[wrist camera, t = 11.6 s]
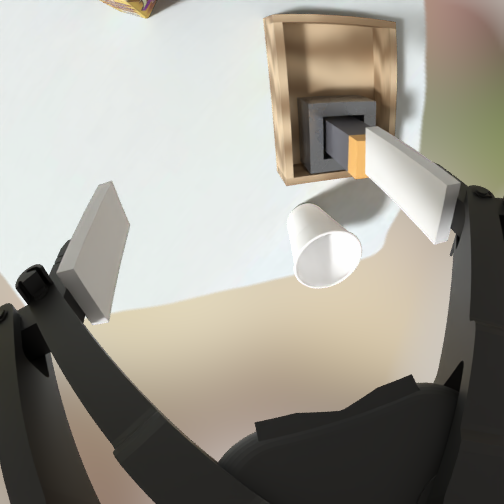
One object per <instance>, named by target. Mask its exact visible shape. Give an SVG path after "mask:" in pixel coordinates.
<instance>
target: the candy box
mask: <svg viewBox="0 0 504 504" xmlns="http://www.w3.org/2000/svg"><path fill="white" fill-rule="evenodd" d="M100 1H102V2H103V3H106V4H107V5H109V6H111V7H113V8H115V9H117V10H119V11H121V12H125V13H128V14H132V15H135V16H139V17H142V18H149V16H150V14H151V11H152V9H153V7H154V5H155V3H156V1H157V0H100Z"/></svg>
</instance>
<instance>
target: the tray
mask: <svg viewBox="0 0 504 504" xmlns="http://www.w3.org/2000/svg"><path fill="white" fill-rule="evenodd" d="M263 21H264V30H265V39H266V49H267V58H268V68H269V79H270V89H271V100H272V112H273V123H274V135H275V148H276V161H277V172H278V173H279V175H280V176H281V178H282V179H283V181H284V183H285V184H286V186H289V185H296V184H303V183H310V182H317V181H324V180H331V179H339V178H347V177H353V176H352V175H351V174H350V173H348V172H347V171H346V170H336V171H328V172H320V173H313V174H310V172H309V171H308V170H307V169H306V168H305V166H304V165H303V164H302V163H301V162H300V145H299V124H298V107H297V98H298V97H313V96H334V95H362V96H364V97H367V98H369V99H372V100H374V101H376V126H378V127H380V128H381V129H383V130H385V131H386V132H388V133H390V134H391V135H393V136H395V120H396V97H397V41H396V22H392V21H385V20H378V19H370V18H362V17H351V16H339V15H319V14H276V15H270V16H268V17H265V18H263Z"/></svg>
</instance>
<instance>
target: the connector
mask: <svg viewBox="0 0 504 504" xmlns="http://www.w3.org/2000/svg"><path fill="white" fill-rule="evenodd" d="M366 127H371V126H369V125H367V124H366V123H364V122H362V121H360V120H358V119H357V118H355V117H353V116H351V115H344V116H327V117H323V150H324V151H326V152H327V153H328V154H329V155H330V156H331V157H332V158H333V159H334V160H336V161H337V162H338V163H339V164H340V165H341V166H342V167H343V168H344V169H345V170H346V171H347V172H348V173H350V174H351V175H352V176H353V177H354V178H355V179H362V178H369V177H368V176H367V175H366V174H365V155H366Z"/></svg>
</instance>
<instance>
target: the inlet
mask: <svg viewBox="0 0 504 504" xmlns="http://www.w3.org/2000/svg"><path fill="white" fill-rule="evenodd" d="M297 107H298V124H299V145H300V162H301V163H302V164H303V165H304V166H305V168H306V169H307V170H308V171H309V172H310V174H313V173H320V172H328V171H336V170H345V169H344V168H343V167H342V166H341V165H340V164H339V163H338V162H337V161H336V160H334V159H333V158H332V157H331V156H330V155H329V154H328V153H327V152H326V151H324V150H323V117H327V116H344V115H351V116H353V117H355V118H357V119H358V120H360V121H362V122H364V123H366V124H367V125H369V126H371V127H376V101H374V100H372V99H369V98H367V97H364V96H362V95H334V96H313V97H298V98H297Z"/></svg>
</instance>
